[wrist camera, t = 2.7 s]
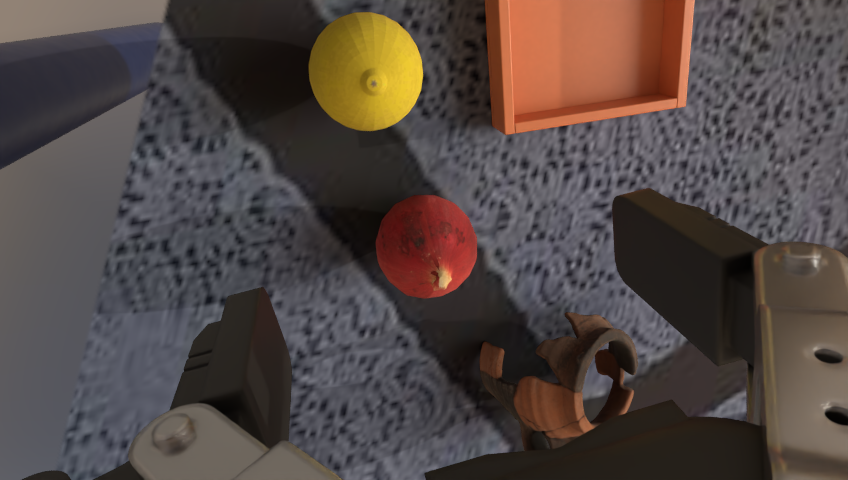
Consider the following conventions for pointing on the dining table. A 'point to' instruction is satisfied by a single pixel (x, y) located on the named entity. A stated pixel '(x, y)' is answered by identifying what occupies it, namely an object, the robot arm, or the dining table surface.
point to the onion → (426, 246)
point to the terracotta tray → (585, 60)
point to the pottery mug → (564, 382)
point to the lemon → (365, 71)
